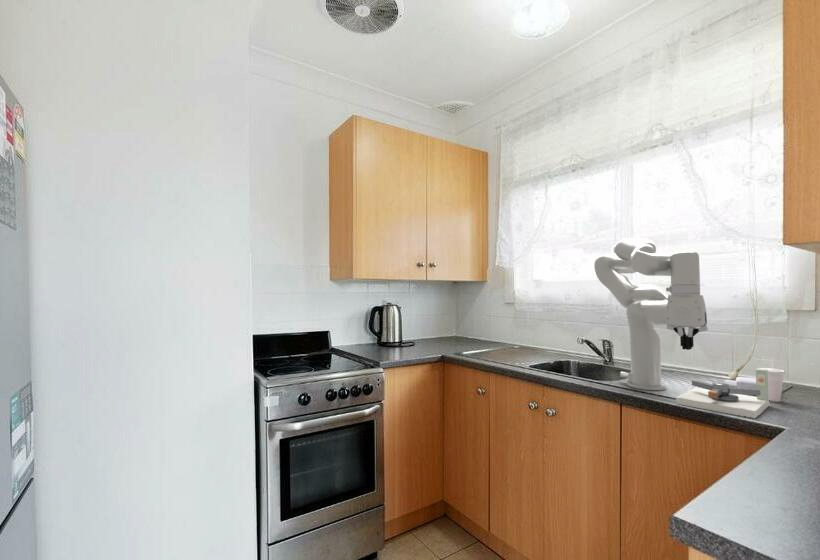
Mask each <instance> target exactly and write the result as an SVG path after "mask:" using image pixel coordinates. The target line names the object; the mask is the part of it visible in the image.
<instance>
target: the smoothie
mask: <svg viewBox="0 0 820 560" xmlns="http://www.w3.org/2000/svg"><path fill="white" fill-rule="evenodd" d="M759 369H768V391H769V400H770V401H769V402H777V403H778V402H779V403H780V402H781V399H782V393H783V385H784V384H783V383H784V375H786V371H785V370H783V369H780V368H779V369H778V368H775V356H774V355H773V356H771V367H761V368H760V367H759Z"/></svg>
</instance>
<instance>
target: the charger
mask: <svg viewBox="0 0 820 560" xmlns="http://www.w3.org/2000/svg"><path fill="white" fill-rule="evenodd" d="M717 382H718V383H725V384H729V387H733V388H749V389H756V377H748V376H747V377H746V376H737V377H735V380H732V379H724V381H717Z"/></svg>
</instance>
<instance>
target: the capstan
mask: <svg viewBox="0 0 820 560" xmlns="http://www.w3.org/2000/svg"><path fill="white" fill-rule="evenodd" d="M691 386H693V387H696V388H702V389H707V390H710V391H709V392H708V398H713V399H717V400H723V401H738V400H739V397H738V396H736V395H733V394H741V395H747V396H756V397H757V396H761V394H760V390H759V389H749V388H733V387H729V384H725V383H718V382H714V381H713V382H712V383H709V382H704V381H700V380H696V379H694V380H693V379H692V380H691ZM729 393H730V394H729Z"/></svg>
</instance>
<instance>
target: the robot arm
mask: <svg viewBox="0 0 820 560" xmlns="http://www.w3.org/2000/svg"><path fill="white" fill-rule="evenodd" d="M656 251H657V245H656V244H655V243H654V241H653V240H651V239H650V238H649V239H648V238H624V239H620V240H619V241H617V242H616V243H615V245H614V247H613V252H614V253H605V254H601V255H599V256H598V257H597V258H595V261H594V264H593V265H594V272H595V275H596V277H597V279H598V281H599V282H600V283H601V284H602V285H603V286H605V288H607V289H608V290H609V292H610V293H611V294H612V295H613V297H614V298H615V299H616V300H617V302H618V303H619V304H620V305H621V306H622V307H623V308H626V319H627V323H628V328H629V339H630V340H629V341H630V343H629V345H630V347H629V348H630V372H625V371H620V373H619V377H620V378H621V379H622V378H623V379H627V381H626V386H628V387H630V388H633V389H638V390H644V391H665V390H666V389H667V384H666V383H663V382H662V366H661V365H662V362H661V359H662V358H661V339H660V335H659V334H658V333H657V331H656V330H655V328H654V327H666V329H667V330H670V331H674V332H675V333H676V334H678V336H679V339H680V347H682V350H686V351H687V350H688V351H689V350H692V349H693V348H694V337H695V336H696V335H697V334H699V333H703V332H707V331H708V330H709V329H708V325H707V324H708V315H707V309H706V303H705V298H704V296H703V295H702V294H701V276H700V275H701V273H700V270H701V269H700V254H699V253H698V252H696V251H693V250H692V251H677V252H673V253H672V252H671V253H656ZM635 273H639V274H642V275H643V276H649V277H654V276H655V277H659V276H661V277H663V276H664V277H670V285H669V286H667V287H666V288H665V291H664V290H663V289H662V288H661V287H660V286H657V285H653V284H635V283H634V282H632V281H631V280H630V279H629V278H628V277H627V276H625V275H624V274H635ZM666 292H669V293H670V294H667V293H666ZM686 328H688V329H687V332H686Z"/></svg>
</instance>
